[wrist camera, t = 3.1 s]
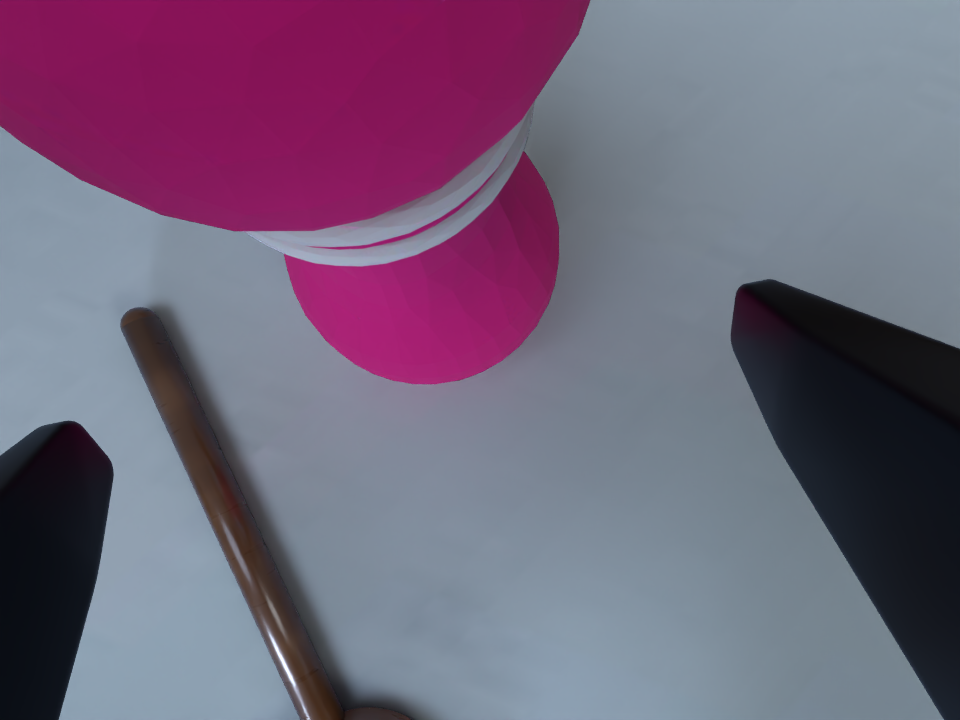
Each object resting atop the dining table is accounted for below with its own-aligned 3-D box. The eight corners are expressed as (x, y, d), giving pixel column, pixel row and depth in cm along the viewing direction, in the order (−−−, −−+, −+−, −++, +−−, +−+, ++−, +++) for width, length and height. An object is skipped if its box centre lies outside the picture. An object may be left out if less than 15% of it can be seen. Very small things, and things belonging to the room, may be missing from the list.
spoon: (514, 899, 19) (515, 931, 18) (359, 983, 19) (349, 1021, 17) (213, 276, 21) (196, 268, 20) (74, 349, 21) (49, 344, 20)
